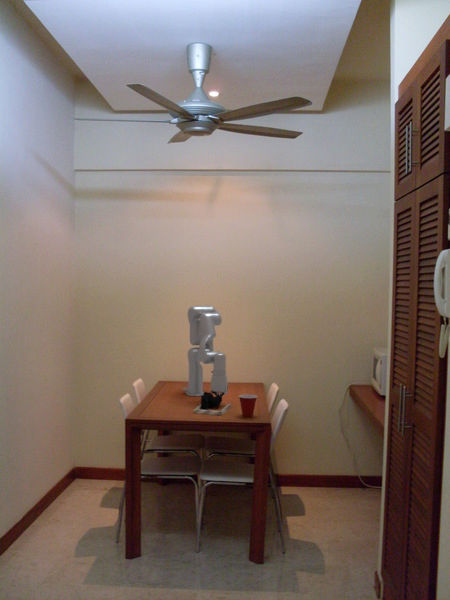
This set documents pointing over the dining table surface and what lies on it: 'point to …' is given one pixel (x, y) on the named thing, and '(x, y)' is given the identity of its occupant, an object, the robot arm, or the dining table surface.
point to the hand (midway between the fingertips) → (219, 402)
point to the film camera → (209, 401)
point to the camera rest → (198, 410)
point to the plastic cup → (247, 404)
